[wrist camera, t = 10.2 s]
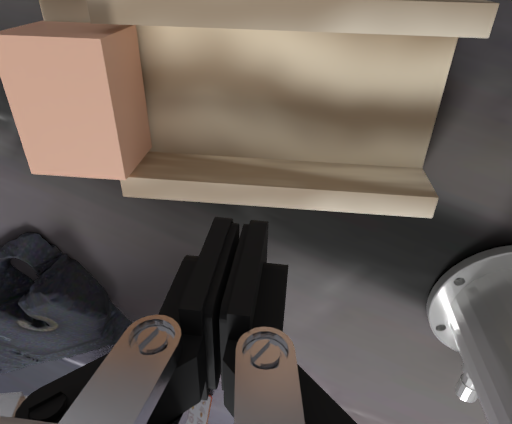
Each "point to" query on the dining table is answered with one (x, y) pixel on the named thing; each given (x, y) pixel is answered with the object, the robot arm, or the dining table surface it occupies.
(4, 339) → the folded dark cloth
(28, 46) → the block
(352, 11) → the chute
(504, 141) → the dining table surface
